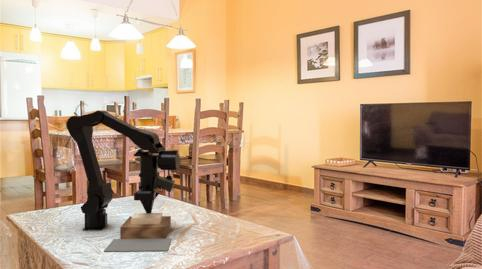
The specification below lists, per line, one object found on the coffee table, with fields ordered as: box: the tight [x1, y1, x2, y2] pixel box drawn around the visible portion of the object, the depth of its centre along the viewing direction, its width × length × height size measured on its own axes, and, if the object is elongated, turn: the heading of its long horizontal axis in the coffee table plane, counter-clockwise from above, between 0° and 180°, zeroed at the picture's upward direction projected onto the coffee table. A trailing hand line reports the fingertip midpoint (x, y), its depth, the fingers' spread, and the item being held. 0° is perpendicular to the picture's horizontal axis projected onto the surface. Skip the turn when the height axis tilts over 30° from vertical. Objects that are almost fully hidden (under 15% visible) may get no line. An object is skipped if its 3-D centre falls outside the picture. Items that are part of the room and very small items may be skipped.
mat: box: [103, 237, 173, 253], centre depth 108 cm, size 18×10×1 cm, turn 93°
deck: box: [119, 215, 172, 239], centre depth 119 cm, size 14×12×4 cm
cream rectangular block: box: [131, 212, 163, 224], centre depth 119 cm, size 9×6×2 cm, turn 94°
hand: (149, 215), depth 123 cm, fingers closed
